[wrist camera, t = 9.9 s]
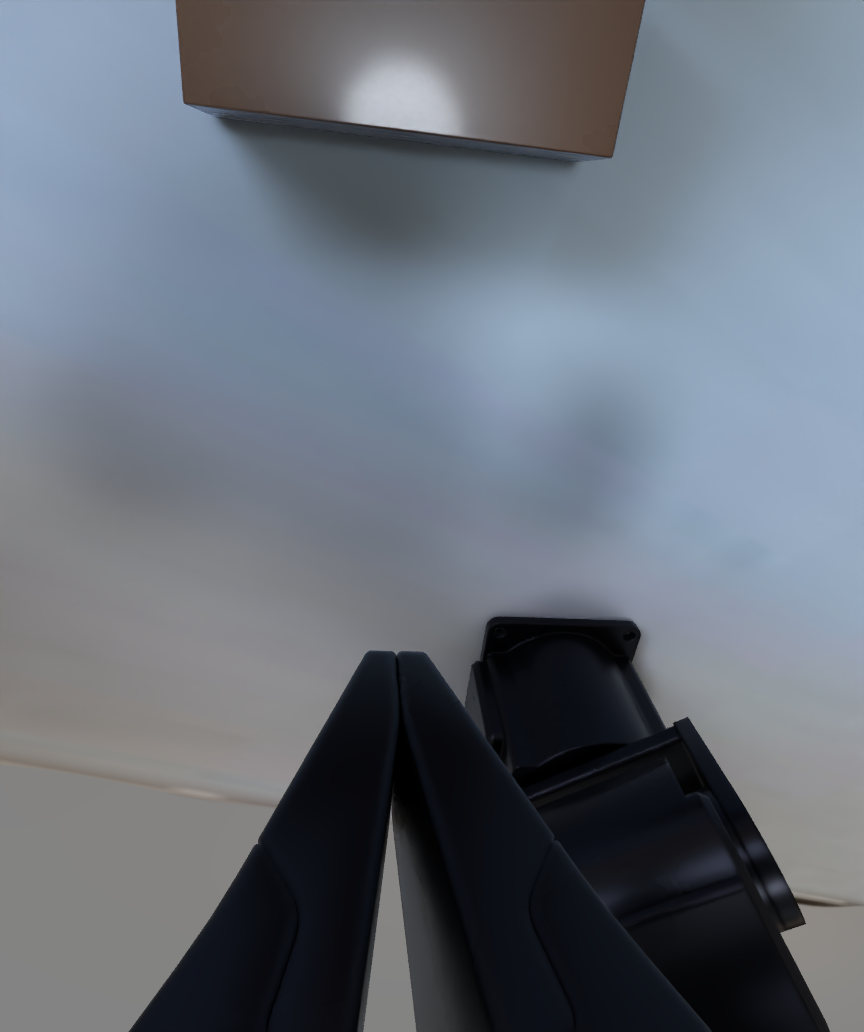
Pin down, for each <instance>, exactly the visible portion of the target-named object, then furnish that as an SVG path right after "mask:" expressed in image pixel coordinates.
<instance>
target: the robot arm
mask: <svg viewBox="0 0 864 1032" xmlns="http://www.w3.org/2000/svg"><path fill="white" fill-rule="evenodd" d="M497 628H503V629H502V630H501V631H495V629H497ZM627 632H630V633H629V634H627V635H624V634H625V633H627ZM640 636H641V633H640V630H639V629H638V627H637V625H636V624H635V623H634V622H632V621H619V620H589V619H559V618H529V617H494V618H492V619H491V620H490V621H488V623H487V625H486V630H485V635H484V641H483V646H482V652H481V657H480V661H476V662H475V663H474V664H473V665H472V667H471V672H470V678H469V684H468V690H467V695H466V701H465V708H464V707H463V705H462V704H461V702H460V701H459V699H458V698H457V697H456V695H455V694H454V692H453V691H452V689H451V688H450V687H449V685H448V684H447V682H446V681H445V680H444V678H443V677H442V675H441V674H440V672H439V671H438V670H437V668H436V667H435V665H434V664H433V662H432V661H431V660H430V658H429V657H428V655H427V654H426V653H424V652H409V651H401V652H399V653H398V654H397V655H396V654H395V653H394V652H393V651H368V652H367V653H366V654H365V656H364V657H363V659H362V661H361V662H360V664H359V666H358V668H357V669H356V671H355V673H354V675H353V676H352V678H351V680H350V681H349V683H348V685H347V687H346V688H345V690H344V692H343V694H342V695H341V697H340V699H339V700H338V702H337V704H336V706H335V707H334V709H333V711H332V713H331V714H330V716H329V718H328V719H327V721H326V723H325V725H324V726H323V728H322V730H321V732H320V733H319V735H318V737H317V738H316V740H315V742H314V744H313V745H312V747H311V749H310V751H309V752H308V754H307V756H306V758H305V759H304V761H303V763H302V764H301V766H300V768H299V770H298V771H297V773H296V775H295V777H294V778H293V780H292V782H291V783H290V785H289V787H288V789H287V790H286V792H285V794H284V796H283V797H282V799H281V801H280V802H279V804H278V806H277V808H276V809H275V811H274V813H273V815H272V817H271V818H270V820H269V822H268V823H267V825H266V827H265V828H264V830H263V832H262V834H261V835H260V837H259V839H258V844H256V845H255V846H254V847H253V849H252V850H251V852H250V854H249V855H248V857H247V859H246V861H245V862H244V864H243V866H242V868H241V869H240V871H239V873H238V874H237V876H236V878H235V879H234V881H233V882H232V884H231V886H230V887H229V889H228V891H227V892H226V894H225V895H224V897H223V899H222V900H221V902H220V903H219V905H218V907H217V908H216V910H215V911H214V913H213V915H212V916H211V918H210V919H209V921H208V922H207V924H206V925H205V927H204V928H203V929H202V931H201V932H200V934H199V935H198V937H197V938H196V939H195V941H194V942H193V944H192V945H191V947H190V948H189V950H188V951H187V952H186V954H185V955H184V957H183V958H182V960H181V961H180V963H179V964H178V965H177V967H176V968H175V970H174V971H173V972H172V974H171V975H170V976H169V978H168V979H167V980H166V982H165V983H164V985H163V986H162V987H161V989H160V990H159V991H158V993H157V994H156V996H155V997H154V998H153V1000H152V1001H151V1002H150V1004H149V1005H148V1007H147V1008H146V1009H145V1010H144V1012H143V1013H142V1015H141V1016H140V1017H139V1018H138V1020H137V1021H136V1023H135V1024H134V1025H133V1027H132V1028H131V1029H130V1031H129V1032H363V1029H364V1021H365V1013H366V1005H367V997H368V989H369V981H370V973H371V965H372V957H373V949H374V941H375V933H376V925H377V917H378V909H379V901H380V893H381V885H382V878H383V869H384V862H385V854H386V845H387V838H388V829H389V820H390V811H391V803H392V821H393V831H394V840H395V849H396V857H397V865H398V875H399V884H400V892H401V900H402V909H403V917H404V927H405V935H406V944H407V953H408V962H409V970H410V979H411V988H412V996H413V1004H414V1014H415V1022H416V1031H417V1032H830V1031H829V1028H828V1026H827V1023H826V1021H825V1019H824V1017H823V1015H822V1013H821V1011H820V1009H819V1007H818V1006H817V1004H816V1002H815V1000H814V998H813V996H812V994H811V992H810V990H809V988H808V986H807V984H806V982H805V981H804V978H803V976H802V975H801V973H800V971H799V969H798V967H797V965H796V963H795V961H794V959H793V957H792V955H791V953H790V951H789V949H788V947H787V946H786V944H785V942H784V940H783V938H782V936H781V934H780V933H781V932H784V931H786V930H789V929H792V928H795V927H798V926H801V925H804V924H806V923H805V920H804V917H803V915H802V913H801V911H800V908H799V906H798V904H797V902H796V900H795V898H794V896H793V894H792V892H791V890H790V888H789V886H788V884H787V882H786V880H785V878H784V876H783V874H782V873H781V871H780V869H779V867H778V865H777V863H776V861H775V859H774V858H773V856H772V854H771V852H770V850H769V849H768V847H767V845H766V843H765V841H764V839H763V838H762V836H761V834H760V832H759V831H758V829H757V827H756V825H755V824H754V822H753V820H752V818H751V817H750V815H749V813H748V812H747V810H746V808H745V806H744V805H743V803H742V801H741V800H740V798H739V797H738V795H737V793H736V792H735V790H734V789H733V787H732V786H731V784H730V782H729V781H728V779H727V778H726V776H725V775H724V773H723V771H722V770H721V768H720V767H719V765H718V764H717V762H716V760H715V759H714V757H713V756H712V754H711V753H710V751H709V749H708V748H707V746H706V745H705V743H704V742H703V740H702V738H701V737H700V735H699V734H698V732H697V731H696V729H695V727H694V726H693V724H692V723H691V721H690V720H689V718H688V717H686V718H684V719H682V720H679V721H677V722H674V723H673V724H674V726H672V727H670V728H667V729H666V727H665V725H664V723H663V721H662V720H661V718H660V716H659V714H658V712H657V710H656V708H655V706H654V704H653V703H652V701H651V699H650V697H649V695H648V693H647V691H646V689H645V687H644V686H643V684H642V682H641V680H640V678H639V676H638V674H637V672H636V670H635V669H634V667H633V665H632V660H633V657H634V654H635V651H636V648H637V645H638V642H639V639H640Z"/></svg>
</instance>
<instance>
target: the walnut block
mask: <svg viewBox="0 0 864 1032" xmlns="http://www.w3.org/2000/svg"><path fill="white" fill-rule="evenodd" d="M644 4H645V0H176V13H177V26H178V39H179V52H180V65H181V78H182V91H183V102H184V104H186V105H189V106H191V107H193V108H196V109H198V110H201V111H203V112H205V113H208V114H210V115H213V116H215V117H220V118H228V119H236V120H244V121H252V122H260V123H268V124H276V125H284V126H292V127H300V128H308V129H316V130H324V131H332V132H340V133H348V134H356V135H364V136H372V137H380V138H388V139H396V140H404V141H412V142H420V143H428V144H436V145H444V146H452V147H460V148H468V149H476V150H484V151H492V152H500V153H508V154H516V155H524V156H532V157H540V158H548V159H556V160H564V161H572V162H580V161H589V160H598V159H607V158H612V156H613V152H614V148H615V143H616V138H617V133H618V128H619V124H620V119H621V114H622V109H623V105H624V100H625V95H626V90H627V86H628V81H629V76H630V71H631V66H632V62H633V57H634V52H635V47H636V43H637V38H638V33H639V28H640V23H641V19H642V14H643V9H644Z"/></svg>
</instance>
